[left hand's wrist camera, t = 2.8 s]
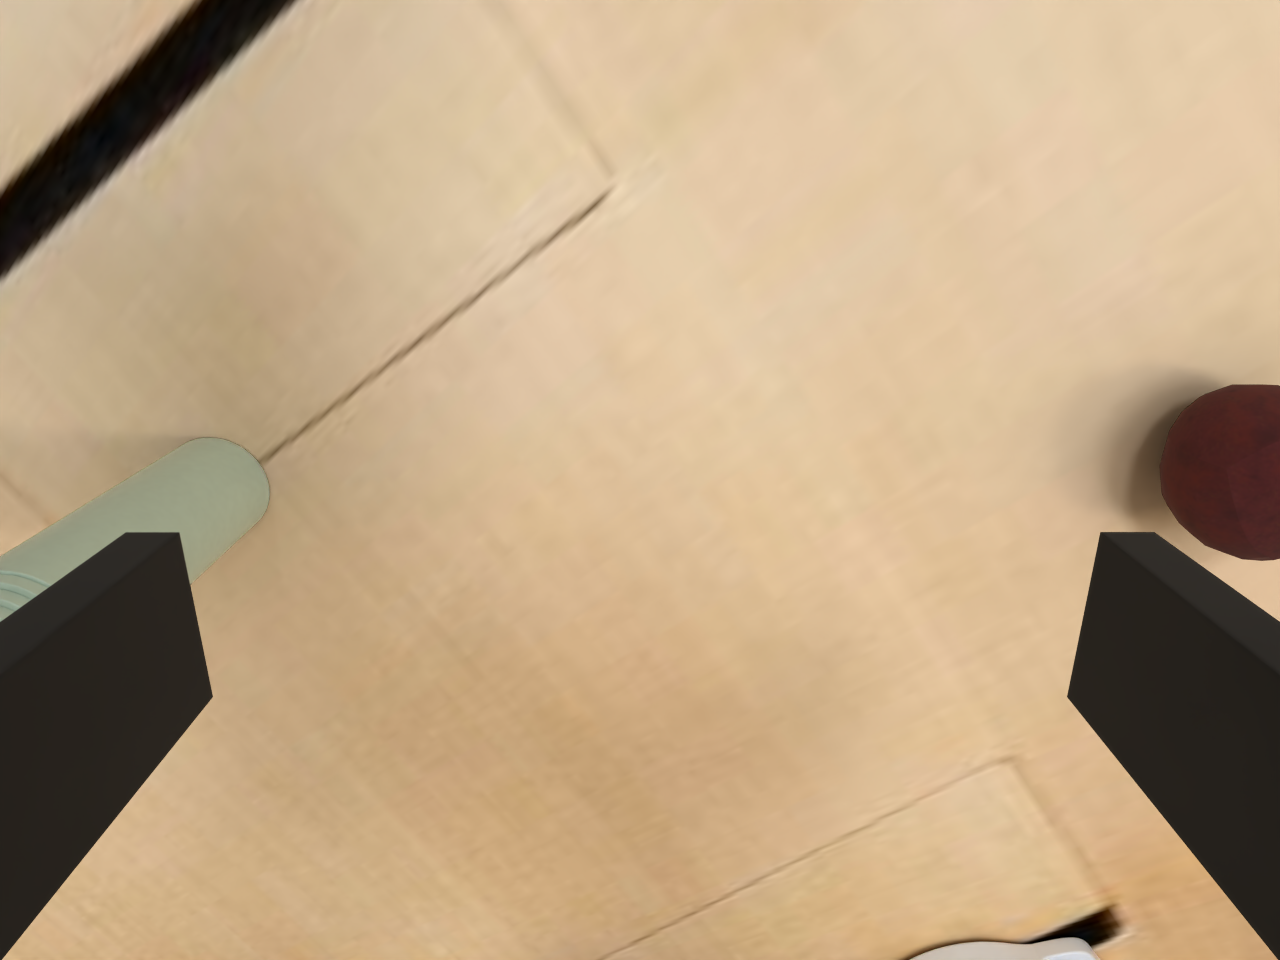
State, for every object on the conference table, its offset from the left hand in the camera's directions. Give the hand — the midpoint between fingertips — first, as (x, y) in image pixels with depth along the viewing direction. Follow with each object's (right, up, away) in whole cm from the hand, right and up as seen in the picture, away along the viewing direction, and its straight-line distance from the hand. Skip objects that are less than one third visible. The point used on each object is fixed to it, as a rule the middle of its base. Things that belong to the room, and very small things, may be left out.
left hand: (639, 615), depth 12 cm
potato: (+27, +4, +28) cm, 39 cm away
